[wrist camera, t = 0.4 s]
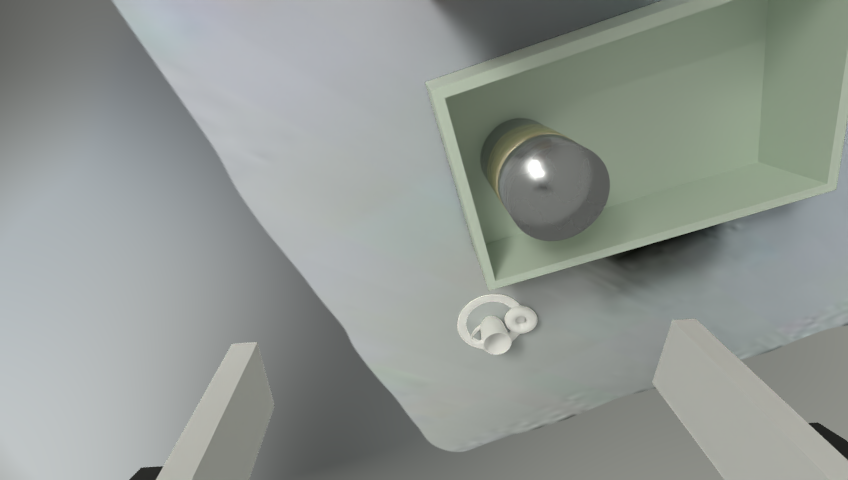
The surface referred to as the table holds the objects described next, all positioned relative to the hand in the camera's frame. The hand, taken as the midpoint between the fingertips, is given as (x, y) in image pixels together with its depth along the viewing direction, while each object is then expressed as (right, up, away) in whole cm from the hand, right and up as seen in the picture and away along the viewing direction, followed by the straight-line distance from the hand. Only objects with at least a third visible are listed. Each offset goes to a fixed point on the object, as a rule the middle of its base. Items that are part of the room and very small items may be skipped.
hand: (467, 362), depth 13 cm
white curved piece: (+8, -7, +35) cm, 37 cm away
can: (+7, +12, +24) cm, 28 cm away
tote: (+15, +15, +24) cm, 32 cm away
